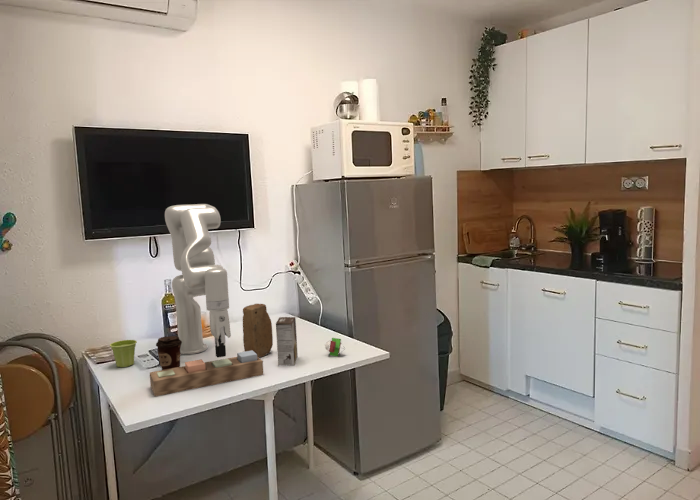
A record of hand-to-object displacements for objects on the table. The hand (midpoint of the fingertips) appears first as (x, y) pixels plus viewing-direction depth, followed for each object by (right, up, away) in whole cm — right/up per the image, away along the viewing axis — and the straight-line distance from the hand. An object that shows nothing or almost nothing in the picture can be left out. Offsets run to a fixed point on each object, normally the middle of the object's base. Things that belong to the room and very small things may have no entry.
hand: (220, 356), depth 182 cm
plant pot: (-41, -7, +19) cm, 46 cm away
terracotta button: (-8, -5, -4) cm, 10 cm away
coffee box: (+21, -5, +15) cm, 27 cm away
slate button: (+8, -4, +4) cm, 10 cm away
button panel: (-4, -8, -2) cm, 9 cm away
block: (+9, -5, +25) cm, 27 cm away
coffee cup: (-20, -8, +7) cm, 23 cm away
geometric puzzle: (+39, -4, +21) cm, 45 cm away
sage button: (0, -6, 0) cm, 6 cm away
